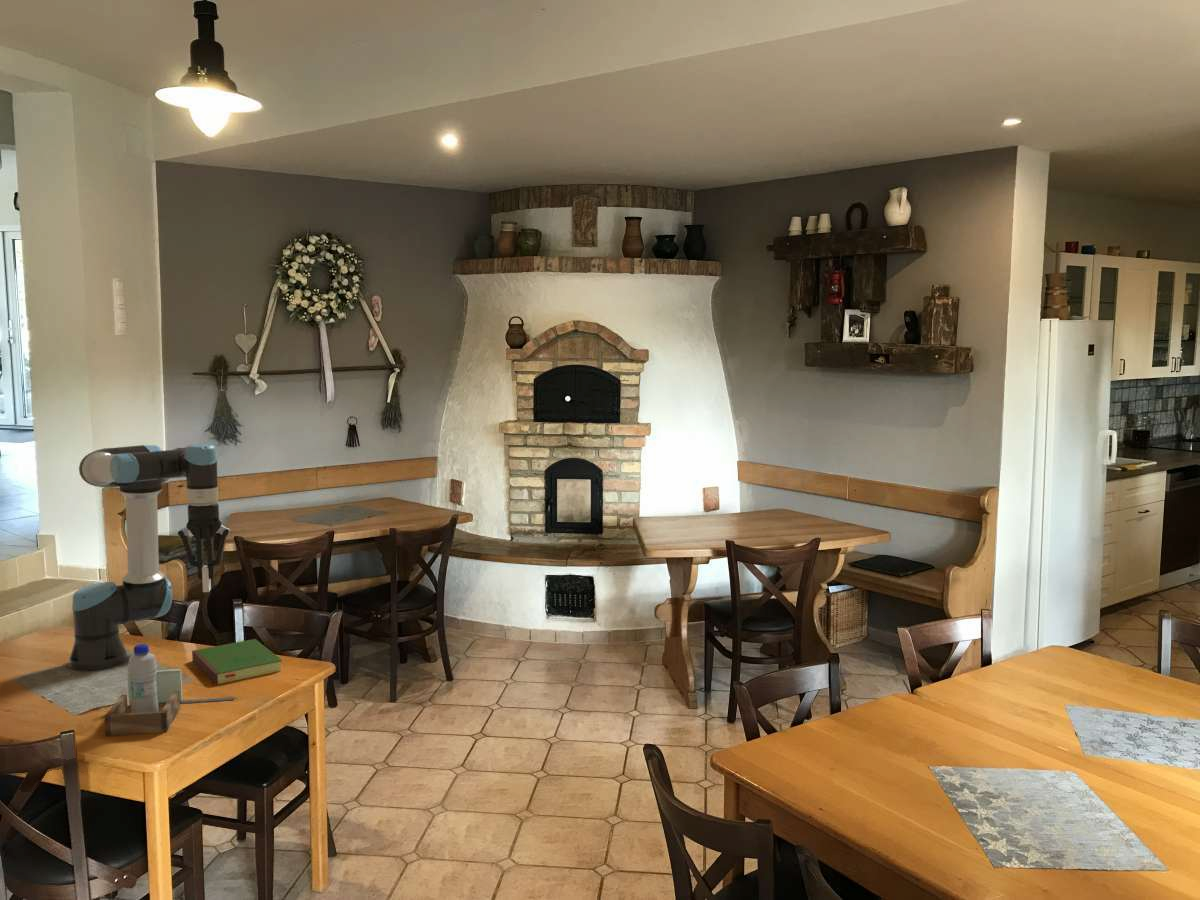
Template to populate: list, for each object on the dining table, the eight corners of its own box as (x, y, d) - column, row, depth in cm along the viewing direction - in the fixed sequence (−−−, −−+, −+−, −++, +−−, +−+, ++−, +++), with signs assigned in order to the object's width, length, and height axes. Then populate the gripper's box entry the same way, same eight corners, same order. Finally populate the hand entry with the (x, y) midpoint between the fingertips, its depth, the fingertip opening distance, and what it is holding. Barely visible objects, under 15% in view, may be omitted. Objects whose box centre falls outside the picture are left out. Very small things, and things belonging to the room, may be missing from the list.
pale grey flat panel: (130, 703, 249) (128, 672, 248) (182, 699, 252) (181, 668, 251) (129, 704, 248) (127, 673, 247) (181, 701, 251) (180, 670, 250)
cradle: (129, 704, 250) (127, 686, 249) (235, 697, 255) (234, 679, 254) (105, 736, 230) (104, 716, 229) (221, 727, 235) (220, 708, 235)
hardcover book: (192, 662, 283) (192, 650, 282) (255, 650, 294) (255, 638, 294) (216, 687, 263) (216, 674, 263) (283, 673, 275) (283, 660, 274)
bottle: (148, 726, 236) (143, 649, 233) (124, 724, 237) (120, 647, 235) (165, 716, 242) (161, 641, 240) (142, 713, 244) (138, 639, 241)
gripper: (173, 506, 241) (177, 595, 244) (226, 505, 244) (230, 593, 247) (179, 501, 249) (183, 588, 252) (231, 500, 251) (235, 585, 254)
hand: (206, 590), depth 249 cm, fingers closed
